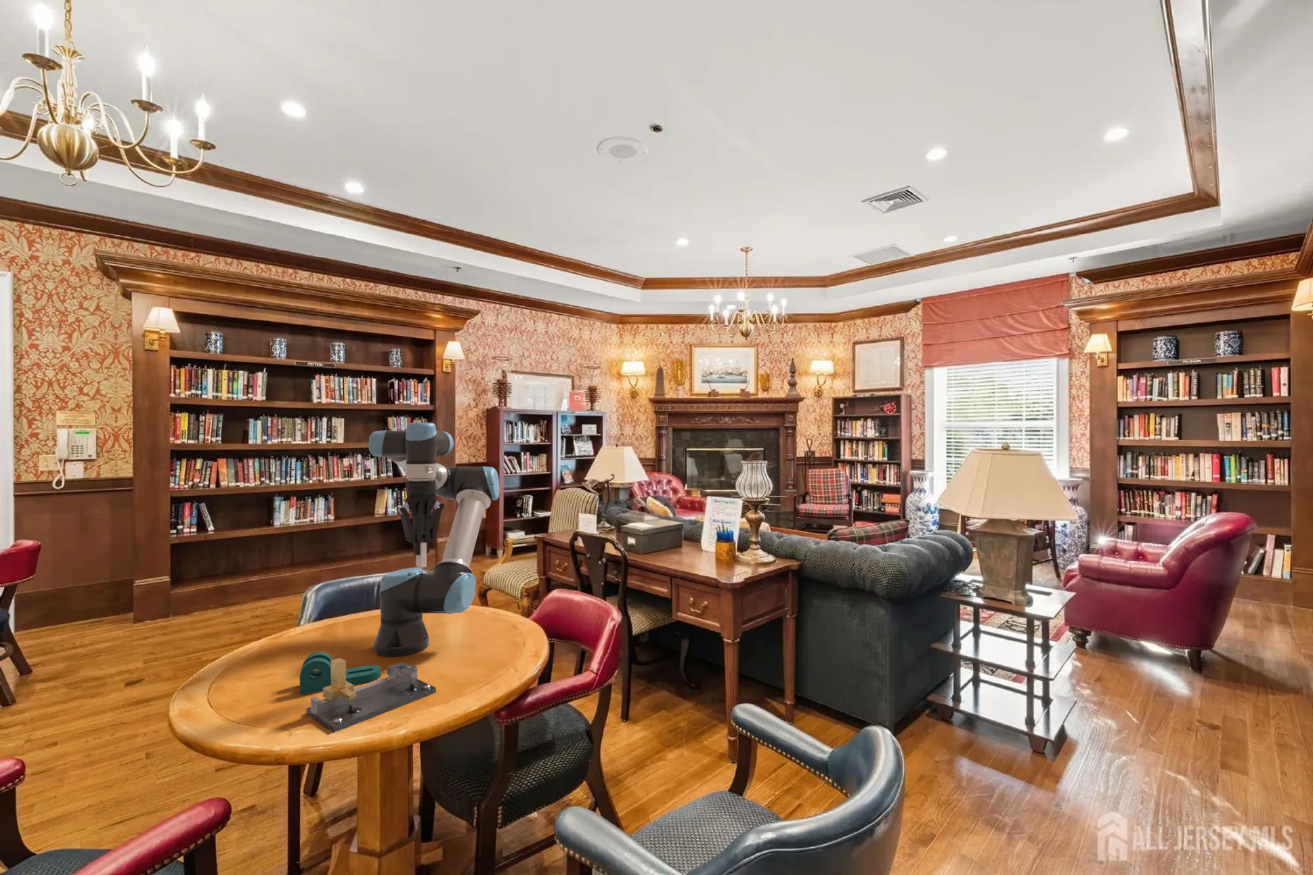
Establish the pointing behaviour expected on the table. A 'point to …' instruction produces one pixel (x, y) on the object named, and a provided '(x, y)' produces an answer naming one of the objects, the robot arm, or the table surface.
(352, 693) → the sliding leg
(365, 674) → the bracket
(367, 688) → the grey long bar piece
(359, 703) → the bolt plate
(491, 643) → the table surface
